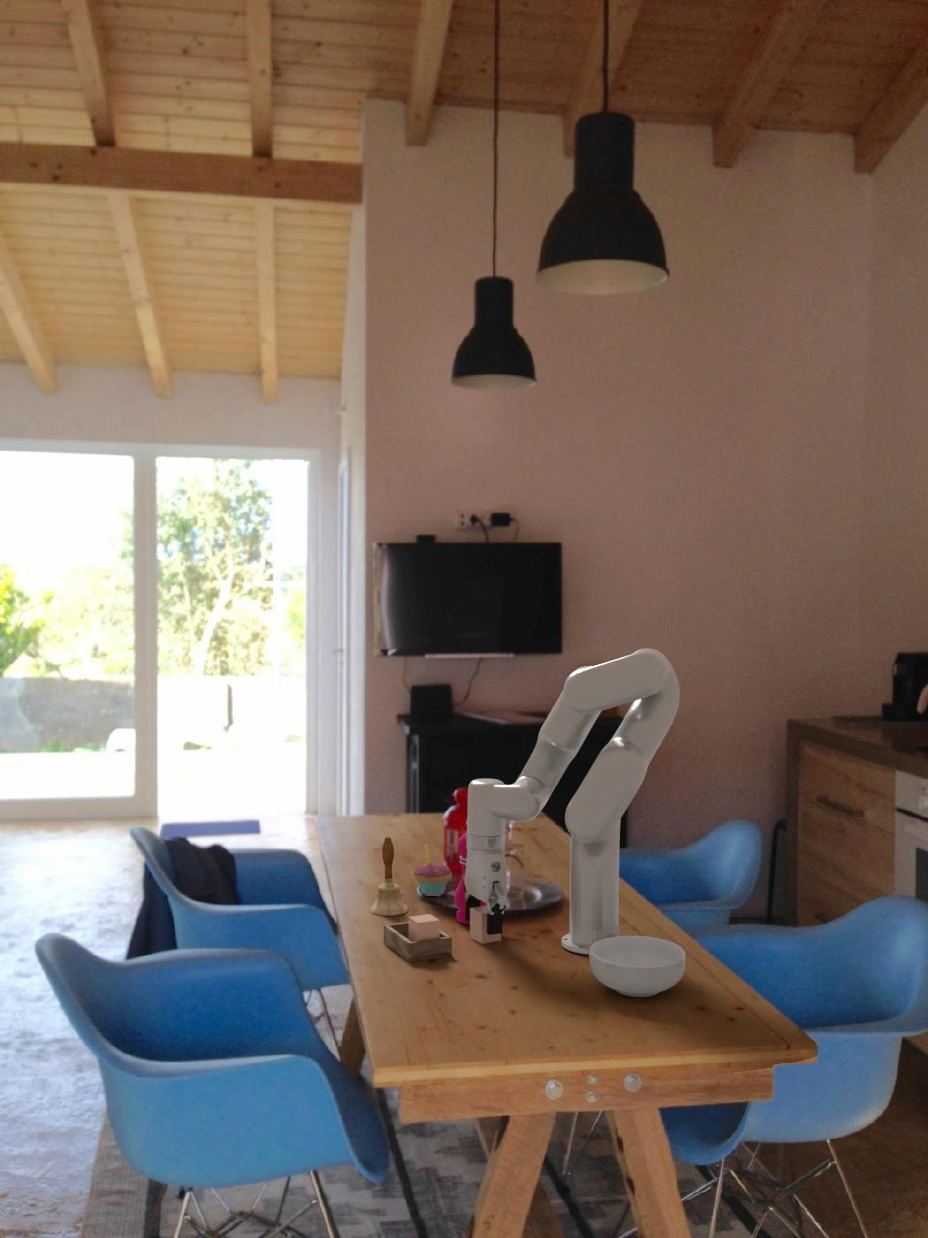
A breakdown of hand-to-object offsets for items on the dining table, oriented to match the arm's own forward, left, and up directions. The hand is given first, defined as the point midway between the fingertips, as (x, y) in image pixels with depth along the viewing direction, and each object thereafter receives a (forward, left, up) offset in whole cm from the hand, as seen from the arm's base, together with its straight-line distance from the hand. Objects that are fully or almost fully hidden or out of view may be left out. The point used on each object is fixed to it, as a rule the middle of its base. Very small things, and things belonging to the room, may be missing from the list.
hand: (483, 926), depth 239 cm
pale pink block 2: (0, 0, -3) cm, 3 cm away
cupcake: (+35, -5, -3) cm, 35 cm away
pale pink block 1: (-4, +14, -2) cm, 15 cm away
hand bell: (+27, +9, -3) cm, 28 cm away
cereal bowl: (-37, -12, -3) cm, 39 cm away
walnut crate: (0, +14, -2) cm, 15 cm away
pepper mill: (+13, -4, -3) cm, 13 cm away
